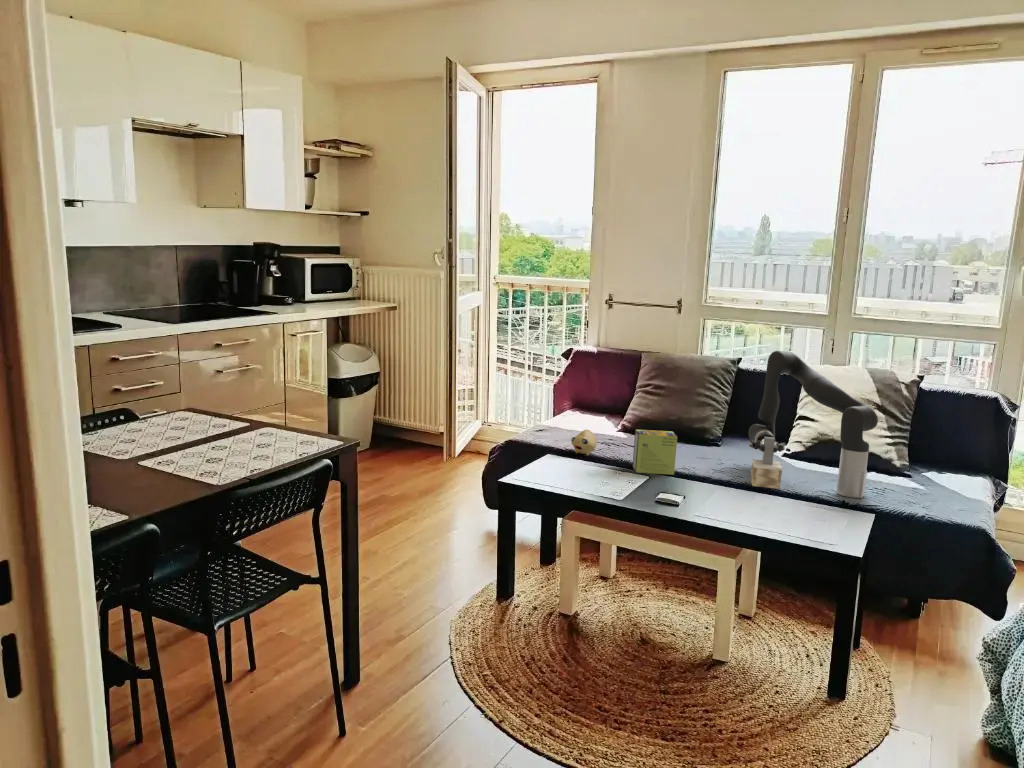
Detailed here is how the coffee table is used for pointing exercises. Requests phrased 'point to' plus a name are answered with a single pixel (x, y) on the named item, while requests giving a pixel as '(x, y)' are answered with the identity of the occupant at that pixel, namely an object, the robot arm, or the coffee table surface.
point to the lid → (767, 456)
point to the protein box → (654, 452)
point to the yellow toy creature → (584, 442)
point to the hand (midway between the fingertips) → (769, 449)
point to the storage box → (766, 477)
